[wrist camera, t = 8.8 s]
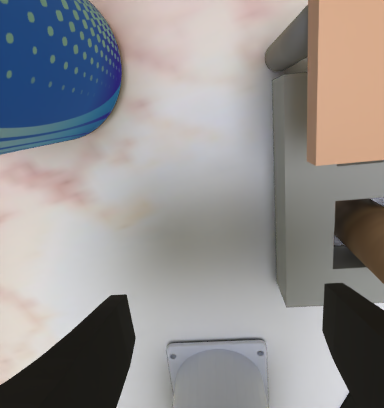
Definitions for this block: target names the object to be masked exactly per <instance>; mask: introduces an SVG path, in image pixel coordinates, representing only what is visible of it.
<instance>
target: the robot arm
mask: <svg viewBox="0 0 384 408" xmlns="http://www.w3.org/2000/svg"><path fill="white" fill-rule="evenodd" d="M322 331H323V334H324V336H325V339H326V342H327V345H328V347H329V350H330V353H331V355H332V358H333V360H334V362H335V364H336V366H337V368H338V370H339V372H340V374H341V376H342V378H343V380H344V382H345V384H346V386H347V388H348V390H349V392H350V394H351V396H352V398H353V400H354V401H355V403H356V405H357V407H358V408H384V310H382V309H381V308H379V307H378V306H376V305H375V304H374V303H372V302H371V301H369V300H368V299H366V298H365V297H363V296H362V295H360V294H359V293H357V292H356V291H355V290H353V289H352V288H350V287H349V286H347V285H345V284H344V283H327V284H324V306H323V329H322ZM134 344H135V333H134V329H133V324H132V319H131V314H130V309H129V305H128V300H127V295H111V296H109V297H108V298H107V299H106V300H105V301H104V302H102V303H101V304H100V305H99V306H98V307H97V308H96V309H95V310H94V311H93V312H92V313H91V314H89V315H88V316H87V317H86V318H85V319H84V320H83V321H82V322H81V323H80V324H78V325H77V326H76V327H75V328H74V329H73V330H72V331H71V332H70V333H68V334H67V335H66V336H65V337H64V338H62V339H61V340H60V341H59V342H58V343H57V344H55V345H54V346H53V347H52V348H51V349H49V350H48V351H47V352H46V353H45V354H43V355H42V356H41V357H39V358H38V359H37V360H35V361H34V362H33V363H32V364H30V365H29V366H27V367H26V368H25V369H23V370H22V371H20V372H19V373H18V374H16V375H15V376H13V377H12V378H11V379H9V380H8V381H6V382H5V383H3V384H1V385H0V408H116V407H117V404H118V401H119V398H120V395H121V392H122V389H123V386H124V383H125V380H126V377H127V373H128V370H129V367H130V363H131V359H132V354H133V349H134ZM258 351H262V352H258ZM166 353H167V359H168V365H169V371H170V377H171V384H172V390H173V396H174V399H173V407H172V408H269V399H268V372H267V347H266V343H265V342H264V341H262V340H244V341H219V342H194V343H172V344H169V345H168V346H167V349H166ZM172 354H175V355H172Z"/></svg>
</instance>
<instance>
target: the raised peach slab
mask: <svg viewBox="0 0 384 408" xmlns="http://www.w3.org/2000/svg"><path fill="white" fill-rule="evenodd" d="M306 57H308V76H307V162H309V163H311V164H313V165H315V166H321V165H333V164H344V163H355V162H366V161H377V160H384V0H308V5H307V6H306V7H305V8H304V9H303V11H302V12H301V13H300V14H299V15H298V16H297V17H296V18H295V19H294V20H293V22H292V23H291V24H290V25H289V26H288V27H287V28H286V29H285V30H284V31H283V32H282V34H281V35H280V36H279V37H278V38H277V39H276V40H275V41H274V42H273V43H272V44H271V46H270V47H269V48H268V49H267V51H266V54H265V63H266V65H267V67H268V68H269V69H270V70H272V71H275V72H280V71H283V70H285V69H286V68H288V67H290V66H292V65H294V64H295V63H297V62H299V61H301V60H302V59H304V58H306Z"/></svg>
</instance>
